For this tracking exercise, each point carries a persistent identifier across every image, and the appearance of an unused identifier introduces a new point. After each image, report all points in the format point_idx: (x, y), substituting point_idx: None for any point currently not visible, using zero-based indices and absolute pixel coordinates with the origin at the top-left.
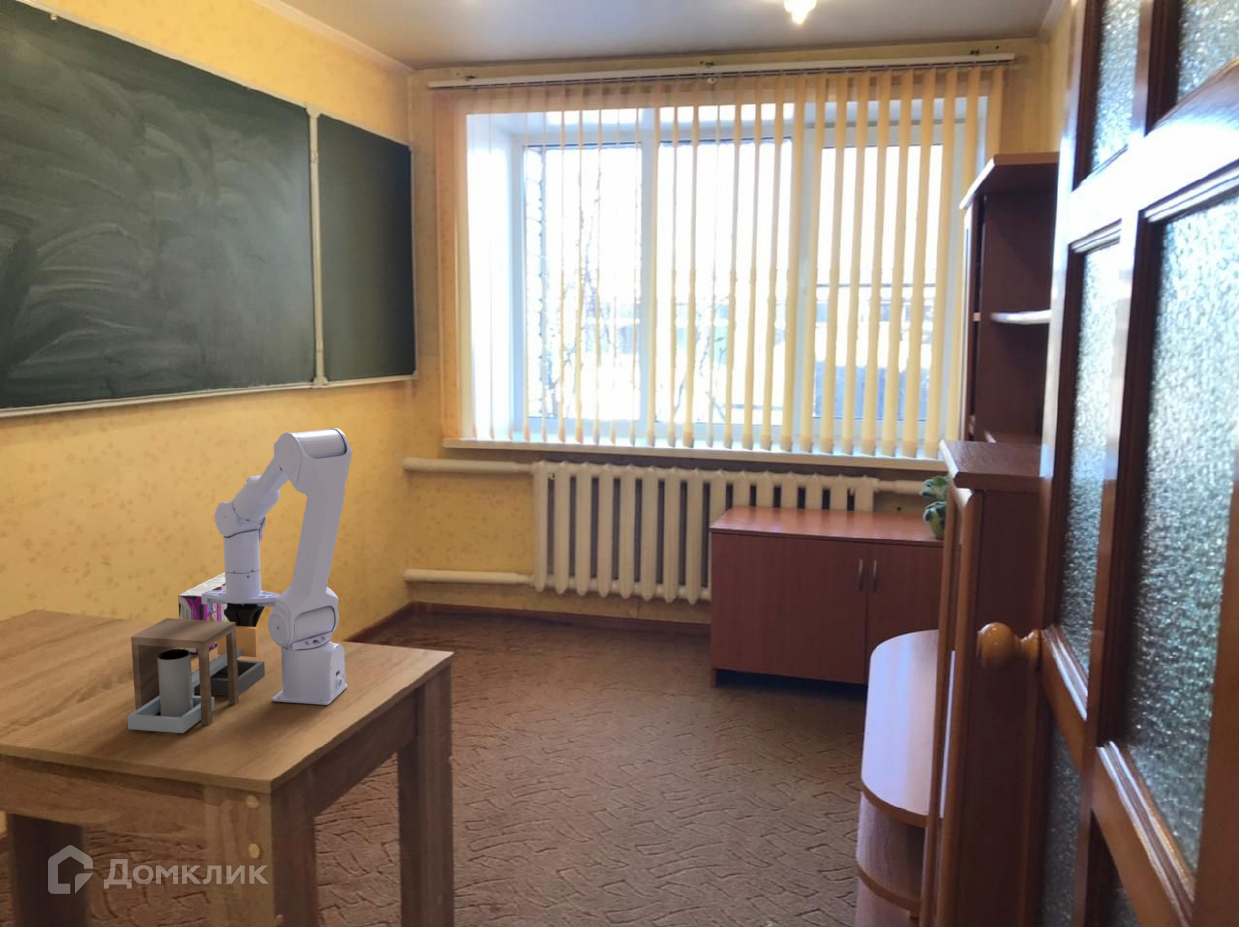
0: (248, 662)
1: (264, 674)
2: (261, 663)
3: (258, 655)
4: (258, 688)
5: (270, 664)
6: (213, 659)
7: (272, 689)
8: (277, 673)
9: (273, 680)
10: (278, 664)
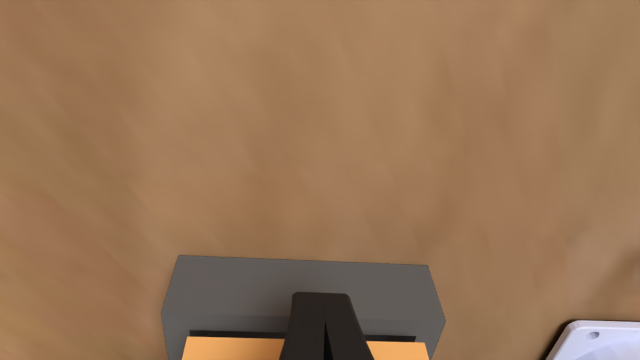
0: (367, 332)
1: (428, 271)
2: (437, 337)
3: (422, 348)
4: (436, 354)
5: (414, 141)
6: (163, 322)
7: (489, 355)
8: (479, 239)
9: (477, 298)
10: (460, 137)
